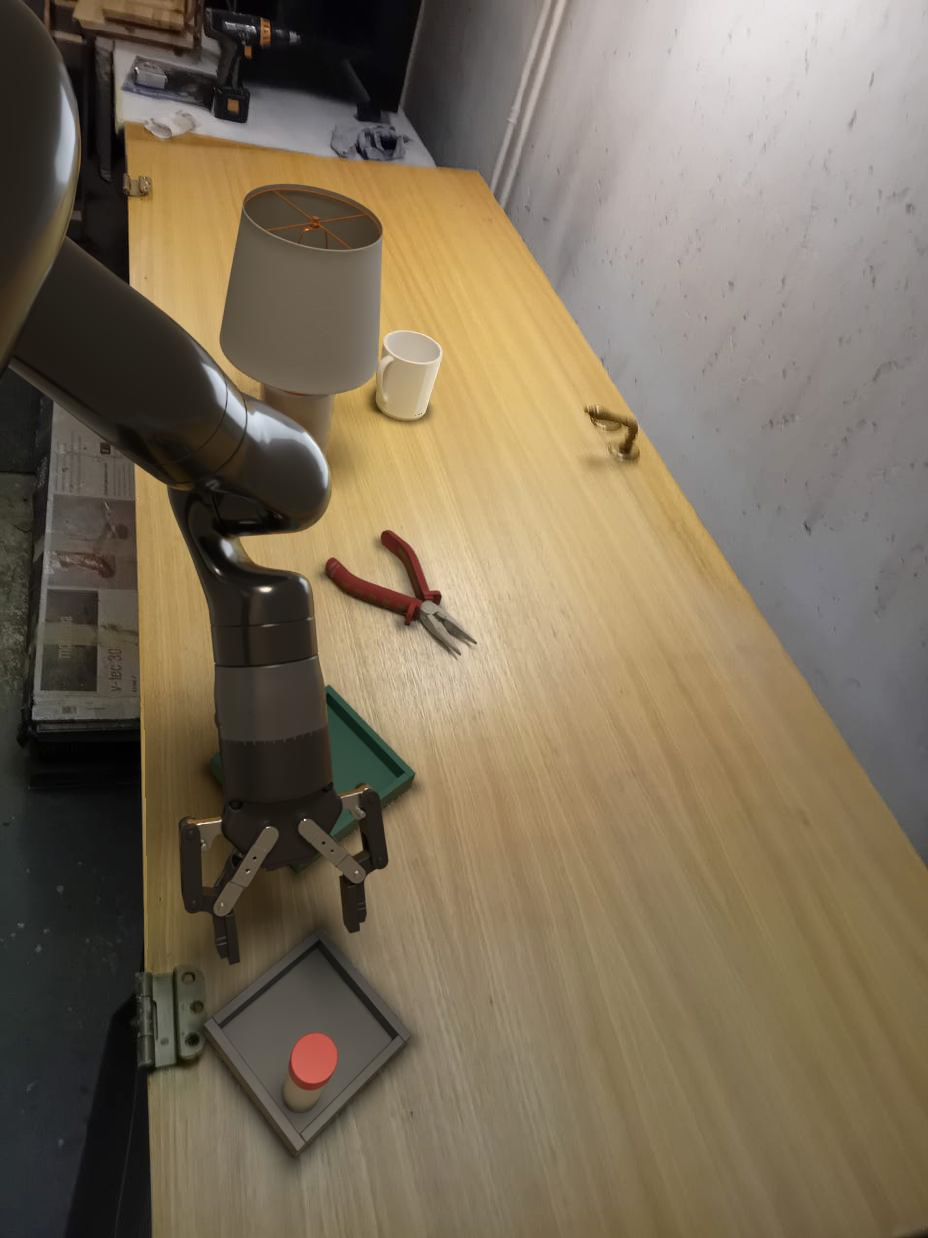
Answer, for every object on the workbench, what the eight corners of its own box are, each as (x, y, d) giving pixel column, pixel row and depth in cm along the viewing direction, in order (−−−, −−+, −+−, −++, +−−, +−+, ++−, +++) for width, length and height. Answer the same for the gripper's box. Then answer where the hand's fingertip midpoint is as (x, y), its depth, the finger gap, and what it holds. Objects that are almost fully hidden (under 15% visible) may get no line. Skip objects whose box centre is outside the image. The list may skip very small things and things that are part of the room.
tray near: (294, 1158, 61) (297, 1152, 59) (203, 1033, 65) (203, 1024, 63) (406, 1043, 68) (412, 1035, 66) (317, 937, 72) (320, 926, 70)
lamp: (301, 408, 121) (328, 168, 97) (385, 482, 115) (436, 244, 90) (188, 445, 110) (185, 184, 85) (273, 529, 103) (297, 273, 79)
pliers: (433, 678, 94) (438, 664, 92) (319, 572, 100) (322, 557, 99) (497, 634, 101) (503, 620, 99) (387, 537, 107) (390, 523, 106)
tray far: (297, 873, 75) (300, 861, 73) (210, 770, 80) (210, 756, 78) (411, 786, 84) (416, 773, 82) (326, 698, 89) (329, 684, 87)
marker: (297, 1125, 62) (310, 1095, 55) (271, 1090, 63) (281, 1056, 56) (330, 1092, 64) (347, 1059, 57) (304, 1058, 65) (317, 1022, 58)
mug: (402, 382, 132) (414, 324, 124) (440, 413, 129) (455, 355, 121) (350, 401, 125) (360, 340, 118) (389, 433, 122) (401, 373, 115)
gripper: (168, 752, 51) (196, 998, 52) (387, 716, 56) (405, 940, 58) (161, 728, 57) (185, 946, 59) (356, 698, 63) (373, 899, 65)
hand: (294, 943), depth 59 cm, fingers open, 8 cm apart
